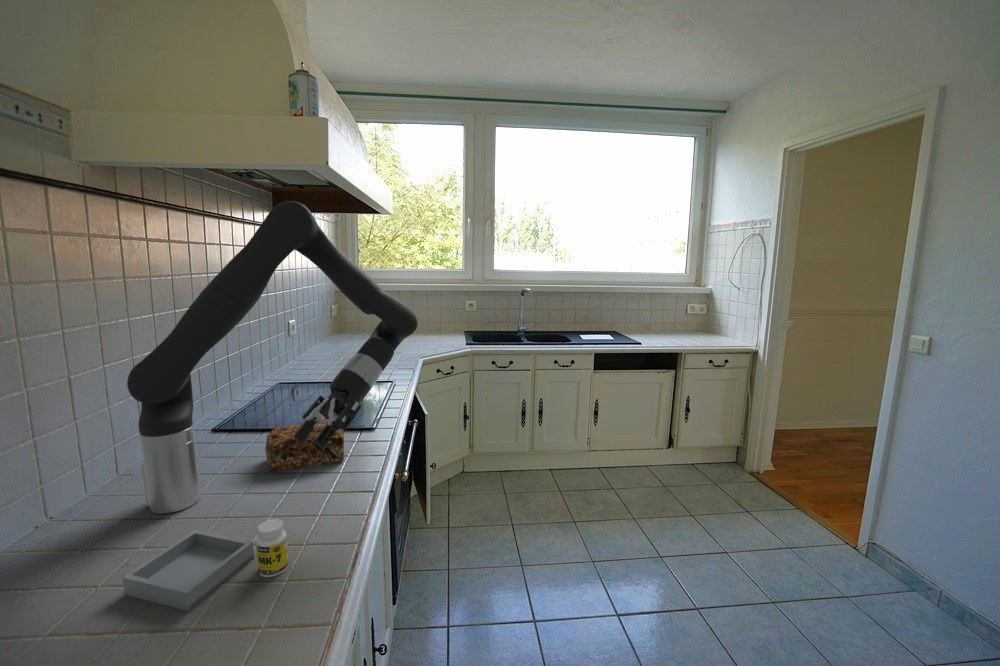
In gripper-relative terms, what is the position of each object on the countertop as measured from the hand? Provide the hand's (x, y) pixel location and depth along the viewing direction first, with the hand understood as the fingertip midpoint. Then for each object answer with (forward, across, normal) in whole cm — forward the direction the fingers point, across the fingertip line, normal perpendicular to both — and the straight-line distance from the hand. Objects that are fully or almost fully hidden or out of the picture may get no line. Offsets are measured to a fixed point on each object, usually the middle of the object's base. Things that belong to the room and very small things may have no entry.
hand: (307, 442), depth 89 cm
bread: (-3, -31, +19) cm, 36 cm away
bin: (+27, -4, 0) cm, 27 cm away
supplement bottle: (+21, +4, +8) cm, 22 cm away
